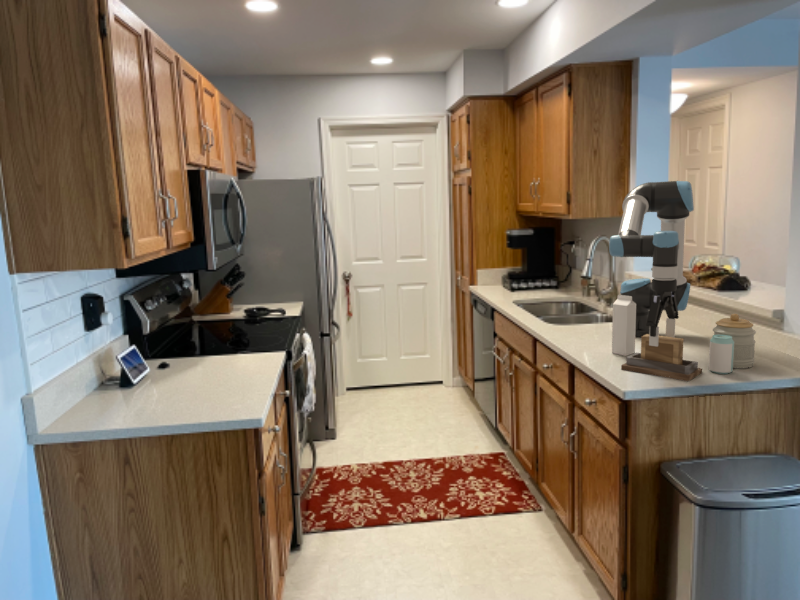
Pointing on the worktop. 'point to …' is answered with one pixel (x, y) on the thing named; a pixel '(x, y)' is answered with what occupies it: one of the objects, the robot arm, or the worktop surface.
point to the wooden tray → (662, 368)
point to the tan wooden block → (663, 350)
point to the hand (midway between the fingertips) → (662, 341)
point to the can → (721, 354)
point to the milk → (624, 326)
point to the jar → (738, 339)
